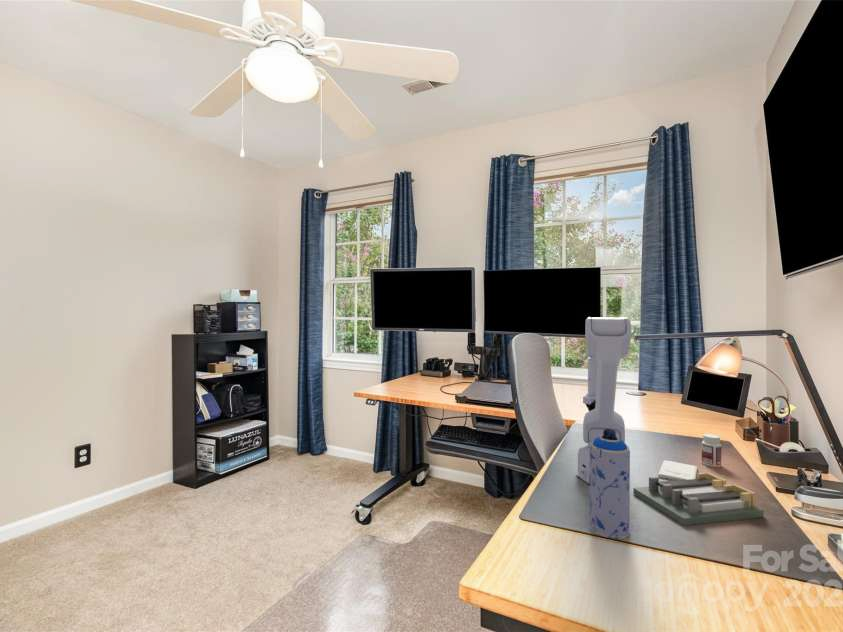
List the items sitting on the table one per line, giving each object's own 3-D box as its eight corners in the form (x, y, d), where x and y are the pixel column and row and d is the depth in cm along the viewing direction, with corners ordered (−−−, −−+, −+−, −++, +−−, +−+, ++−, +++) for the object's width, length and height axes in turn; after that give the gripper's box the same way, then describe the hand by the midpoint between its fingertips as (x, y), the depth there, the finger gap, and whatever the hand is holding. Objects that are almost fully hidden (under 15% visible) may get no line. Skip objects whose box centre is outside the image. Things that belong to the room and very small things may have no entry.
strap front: (689, 502, 88) (690, 499, 88) (680, 497, 90) (680, 494, 90) (743, 498, 91) (744, 495, 91) (732, 493, 93) (732, 490, 93)
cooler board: (684, 525, 85) (684, 504, 84) (633, 494, 99) (633, 475, 99) (763, 516, 88) (763, 496, 88) (703, 487, 103) (703, 469, 103)
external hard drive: (697, 472, 115) (694, 486, 105) (663, 465, 120) (657, 479, 110) (697, 466, 115) (694, 480, 105) (663, 459, 120) (658, 473, 110)
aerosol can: (594, 514, 89) (595, 423, 89) (634, 527, 84) (635, 430, 84) (582, 529, 83) (583, 431, 83) (624, 543, 78) (625, 439, 78)
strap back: (664, 488, 95) (664, 486, 95) (656, 484, 97) (656, 481, 97) (715, 485, 97) (715, 482, 97) (706, 480, 100) (706, 478, 100)
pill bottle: (716, 462, 121) (717, 434, 121) (724, 468, 116) (724, 438, 116) (698, 460, 122) (698, 432, 122) (705, 466, 117) (705, 437, 117)
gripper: (600, 383, 115) (599, 432, 115) (622, 378, 125) (621, 423, 125) (576, 380, 120) (576, 426, 120) (599, 375, 130) (598, 418, 130)
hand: (597, 424), depth 123 cm, fingers closed
